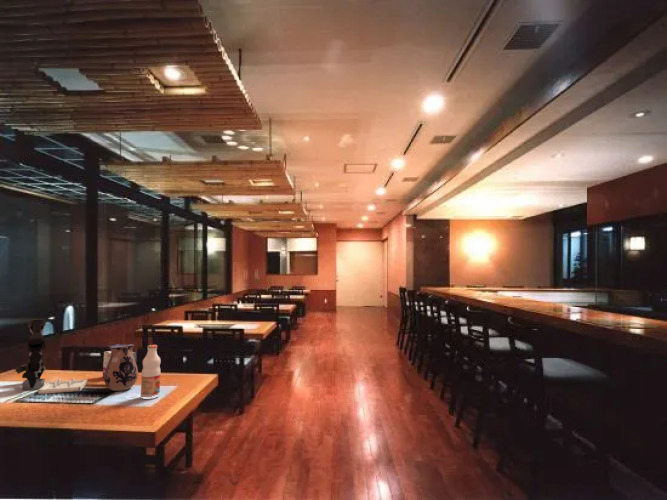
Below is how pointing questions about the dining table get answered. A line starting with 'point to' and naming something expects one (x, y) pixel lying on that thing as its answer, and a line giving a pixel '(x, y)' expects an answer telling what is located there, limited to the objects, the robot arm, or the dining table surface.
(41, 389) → the tray
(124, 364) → the ceramic pitcher
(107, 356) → the candy bar box
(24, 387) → the grey rectangular block
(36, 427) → the dining table surface
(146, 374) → the fruit juice
